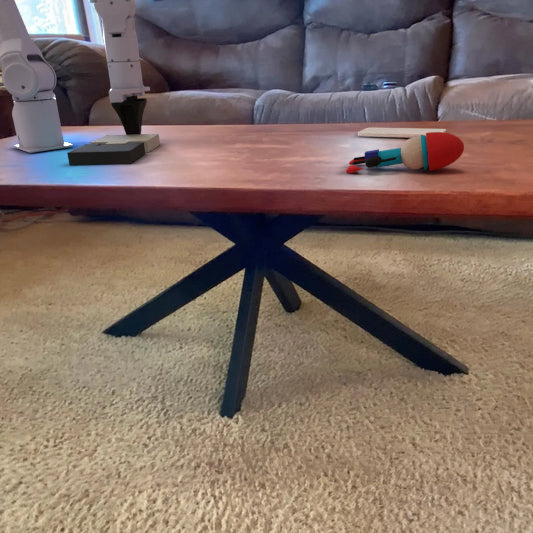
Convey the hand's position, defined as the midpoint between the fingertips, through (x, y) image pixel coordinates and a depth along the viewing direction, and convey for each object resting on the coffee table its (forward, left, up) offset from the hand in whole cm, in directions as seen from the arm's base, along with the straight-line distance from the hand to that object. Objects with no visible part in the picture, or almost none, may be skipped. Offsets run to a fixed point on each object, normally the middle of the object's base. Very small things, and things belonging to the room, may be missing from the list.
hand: (134, 139), depth 96 cm
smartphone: (+34, +37, -1) cm, 50 cm away
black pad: (+10, -10, -1) cm, 14 cm away
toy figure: (+51, +13, -1) cm, 53 cm away
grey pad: (+4, -4, -1) cm, 6 cm away
